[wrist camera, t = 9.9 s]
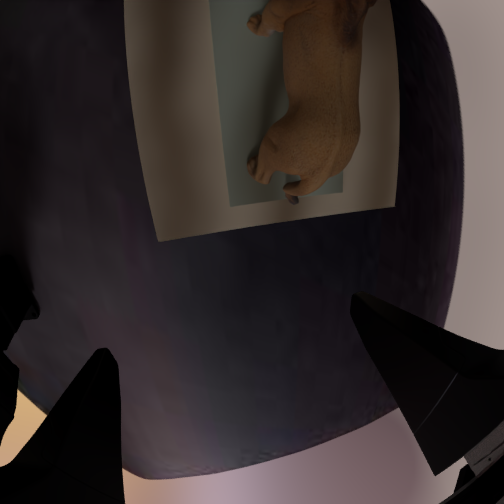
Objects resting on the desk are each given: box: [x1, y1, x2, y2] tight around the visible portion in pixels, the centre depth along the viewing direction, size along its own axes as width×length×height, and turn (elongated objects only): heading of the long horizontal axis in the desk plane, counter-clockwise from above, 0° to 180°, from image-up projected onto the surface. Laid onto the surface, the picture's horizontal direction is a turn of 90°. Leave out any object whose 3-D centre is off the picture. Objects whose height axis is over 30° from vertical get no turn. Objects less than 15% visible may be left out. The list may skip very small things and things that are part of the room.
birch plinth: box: [124, 0, 399, 242], centre depth 14 cm, size 16×18×3 cm
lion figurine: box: [247, 0, 377, 205], centre depth 9 cm, size 15×5×9 cm, turn 7°
